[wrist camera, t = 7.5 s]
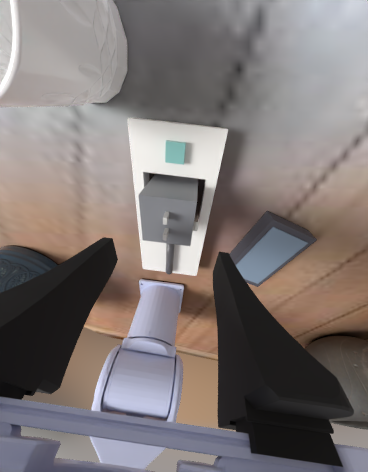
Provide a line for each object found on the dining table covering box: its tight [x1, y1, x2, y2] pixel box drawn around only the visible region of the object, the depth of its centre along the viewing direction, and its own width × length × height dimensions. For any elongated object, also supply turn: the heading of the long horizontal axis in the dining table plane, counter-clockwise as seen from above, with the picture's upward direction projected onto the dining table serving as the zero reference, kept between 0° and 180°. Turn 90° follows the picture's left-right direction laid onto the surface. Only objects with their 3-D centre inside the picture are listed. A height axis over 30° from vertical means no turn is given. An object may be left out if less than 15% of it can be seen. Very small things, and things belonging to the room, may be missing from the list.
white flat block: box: [127, 118, 228, 276], centre depth 18 cm, size 18×8×3 cm, turn 175°
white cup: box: [0, 0, 127, 107], centre depth 8 cm, size 8×8×10 cm
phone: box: [229, 211, 316, 287], centre depth 21 cm, size 10×6×2 cm, turn 157°
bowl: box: [305, 336, 368, 429], centre depth 31 cm, size 18×18×13 cm
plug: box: [139, 173, 198, 246], centre depth 15 cm, size 4×4×7 cm
